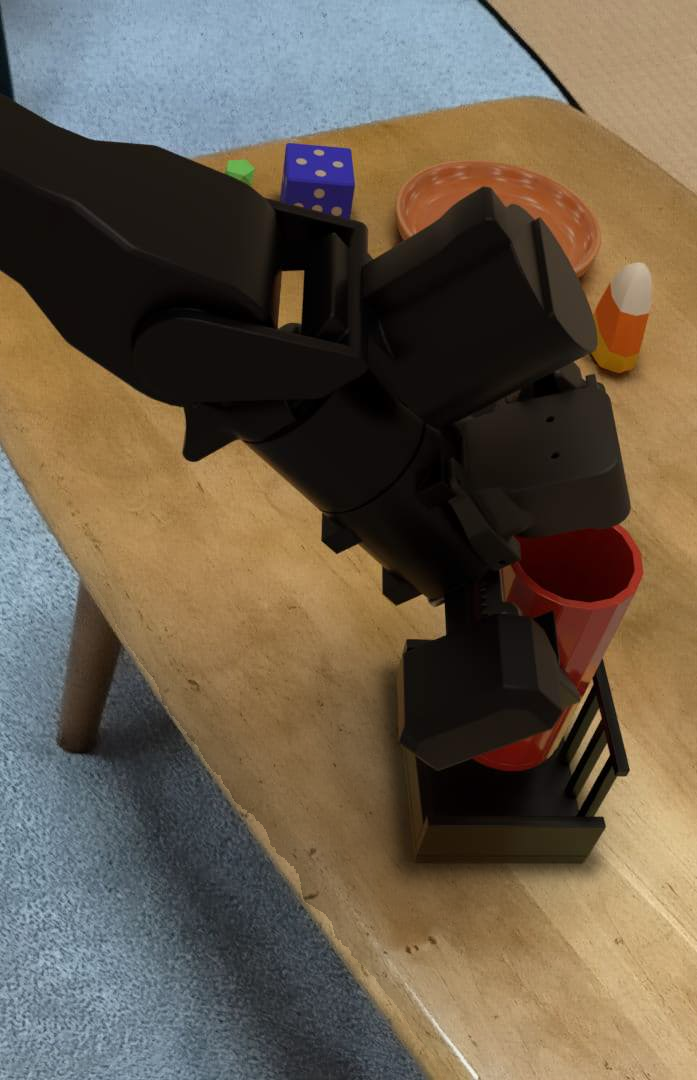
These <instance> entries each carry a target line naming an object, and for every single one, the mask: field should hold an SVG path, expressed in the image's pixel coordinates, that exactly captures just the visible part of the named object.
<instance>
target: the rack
mask: <svg viewBox="0 0 697 1080" xmlns="http://www.w3.org/2000/svg"><path fill="white" fill-rule="evenodd" d="M433 640H434V639H427V638H425V639H423V638H422V639H421V638H406V639H405V643H404V645H403V649H402V653H401V656H400V660H399V663H398V667H397V671H396V675H395V678H394V682H395V691H396V692H395V693H396V701H397V702H396V703H398V669H399V665H400V662H401V659H402V655H403V653H405V652H407V651H410V650H412V649H414V648H417V647H419V646H421V645H424V644H426V643H428V642H431V641H433ZM606 669H607V668H606V665H605V662H604V657H603V658H602V660H601V662H600V664H599V666H598V668H597V670H596V672H595V674H594V676H593V678H592V680H591V681H592V686H591V688H590V690H589V692H588V694H587V696H586V698H585V700H584V702H583V704H582V706H581V708H580V710H579V712H578V714H577V716H576V718H575V720H574V723H573V724H572V726H571V728H570V731H569V733H568V734H567V736H566V739H565V736H564V735H565V734H564V735H563V737H562V739H561V741H560V743H559V745H558V747H557V749H556V750H555V751H554V753H553V754H552V755H551V756H550V757H549V758H548V759H547V760H546V761H545V762H543V763H542V764H540V765H538V766H536V767H533V768H530V769H527V770H521V771H504V770H498V769H494V768H491V767H488V766H486V765H483V764H481V763H479V762H477V761H476V760H474V759H469V760H467V761H464V762H461V763H458V764H456V765H453V766H450V767H448V768H445V769H442V770H439V771H437V770H435V769H434V768H432V767H431V766H429V765H428V764H426V763H425V762H424V761H422V760H421V759H420V758H418V757H417V756H416V755H414V754H413V753H412V752H410V751H409V750H408V749H406V748H405V747H404V746H402V745H401V747H402V759H403V767H404V777H405V785H406V794H407V805H408V813H409V823H410V833H411V841H412V842H411V843H412V853H413V861H414V862H415V863H541V864H542V863H543V864H544V863H547V864H548V863H550V864H551V863H561V864H562V863H563V864H564V863H567V864H571V863H579V864H580V863H582V864H583V863H585V862H586V861H587V859H588V857H589V856H590V855H591V853H592V851H593V850H594V848H595V846H596V844H597V843H598V841H599V839H600V838H601V836H602V835H603V833H604V832H605V830H606V828H607V825H606V821H605V816H596V814H597V813H598V811H599V809H600V807H601V806H602V804H603V802H604V800H605V799H606V797H607V795H608V794H609V791H610V790H611V788H612V787H613V784H614V783H615V781H616V780H617V778H618V777H620V778H621V777H628V775H629V774H630V771H631V769H630V764H629V760H628V756H627V752H626V747H625V744H624V739H623V736H622V731H621V728H620V723H619V720H618V719H619V718H618V715H617V710H616V708H615V707H616V706H615V702H614V698H613V694H612V690H611V685H610V681H609V678H608V673H607V670H606ZM598 712H599V713H600V718H601V719H600V721H599V723H598V724H597V726H596V729H595V730H594V732H593V734H592V736H591V738H590V739H589V741H588V743H587V744H586V745H587V746H586V747H585V749H584V751H583V753H582V755H581V757H580V759H579V761H578V762H577V764H576V766H575V768H574V770H573V772H572V769H571V764H572V763H573V760H574V758H575V756H576V754H577V752H578V750H579V748H580V746H581V744H582V742H583V741H584V739H585V736H586V735H587V734H588V731H589V729H590V728H591V725H592V723H593V722H594V719H595V718H596V716H597V713H598ZM606 746H607V749H608V753H609V756H608V758H607V760H606V761H605V762H604V765H603V767H602V768H601V770H600V771H599V774H598V775H597V777H596V779H595V781H594V783H593V785H592V786H591V788H590V790H589V792H588V793H587V795H586V797H585V799H584V801H583V802H582V804H581V806H580V808H579V803H578V798H579V796H580V795H581V792H582V790H583V788H584V786H585V785H586V784H587V781H588V779H589V777H590V775H591V773H592V772H593V770H594V769H595V767H596V765H597V763H598V761H599V759H600V757H601V755H602V753H603V752H604V750H605V748H606Z"/></svg>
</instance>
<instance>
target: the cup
mask: <svg viewBox="0 0 697 1080" xmlns="http://www.w3.org/2000/svg"><path fill="white" fill-rule="evenodd" d="M514 537H515V538H516V539H517V540H518V541H519V542H520V550H521V560H520V561H517V562H515V563H513V564H511V565H508V566H506V567H504V568H503V575H504V586H505V596H506V602H512V603H514V604H516V605H517V606H518V607H519V608H520V609H521V611H522V614H523V616H530V617H531V618H532V619H533V618H536V617H538V616H540V615H543V614H545V613H548V612H550V611H554V617H555V625H556V633H557V641H558V649H559V657H560V662H559V664H560V665H561V666H562V668H563V669H564V670H565V672H566V673H567V674H568V676H569V677H570V678H571V680H572V682H573V683H574V685H575V686H576V688H577V690H578V691H579V693H580V698H581V701H580V702H579V703H576V704H574V705H571V706H568V707H566V708H563V713H562V714H561V716H560V717H559V719H558V720H557V722H556V723H555V725H554V726H553V728H552V729H551V730H549V731H546V732H543V733H540V734H538V735H535V736H532V737H530V738H527V739H524V740H521V741H519V742H516V743H513V744H510V745H508V746H505V747H502V748H499V749H497V750H494V751H491V752H489V753H486V754H483V755H480V756H478V757H475V758H472V759H474V760H476V761H477V762H479V763H481V764H483V765H486V766H488V767H491V768H494V769H498V770H504V771H521V770H527V769H530V768H533V767H536V766H538V765H540V764H542V763H543V762H545V761H546V760H547V759H548V758H549V757H550V756H551V755H552V754H553V753H554V751H555V750H556V749H557V747H558V745H559V743H560V741H561V739H562V737H563V735H565V733H566V732H567V729H568V728H569V726H570V724H571V722H572V720H573V718H574V716H575V714H576V712H577V709H578V707H579V706H580V704H581V702H582V700H583V698H584V695H585V694H586V692H587V689H588V688H589V686H590V683H591V682H592V681H593V680H592V678H593V676H594V674H595V672H596V670H597V668H598V666H599V664H600V662H601V660H602V658H603V659H604V656H605V654H606V652H607V650H608V648H609V646H610V644H611V642H612V640H613V638H614V636H615V634H616V632H617V630H618V628H619V627H620V624H621V622H622V621H623V619H624V617H625V614H626V612H627V610H628V608H629V606H630V605H631V603H632V600H633V599H634V597H635V595H636V592H637V591H638V588H639V586H640V583H641V581H642V579H643V576H644V565H643V557H642V556H643V555H642V551H641V549H640V548H639V547H638V545H637V543H636V541H635V539H634V538H633V536H632V535H631V533H630V532H629V531H628V530H627V529H625V527H623V525H621V523H620V524H618V525H616V526H614V527H610V528H606V529H600V530H598V529H595V528H587V529H582V530H576V531H571V532H565V533H560V534H555V535H549V536H544V537H539V538H532V539H526V538H521V537H518V536H516V535H514Z"/></svg>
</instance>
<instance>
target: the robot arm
mask: <svg viewBox="0 0 697 1080" xmlns="http://www.w3.org/2000/svg"><path fill="white" fill-rule="evenodd" d="M296 271H299V272H301V271H303V284H302V285H303V286H302V303H301V304H302V305H301V321H300V323H299V322H288V323H285V324H283V325H282V326H279V317H280V306H281V305H280V304H281V303H280V302H281V291H282V277H283V272H296ZM0 272H1V273H3V274H4V275H5V276H6V277H8V278H10V279H11V280H12V281H13V282H15V283H17V284H18V285H19V286H20V287H21V288H22V289H24V291H25V292H26V293H27V295H28V296H29V297H30V299H31V300H32V301H33V302H34V303H35V305H36V306H37V307H38V309H39V310H40V311H41V312H42V313H43V315H44V316H45V318H46V319H47V320H48V321H49V322H50V325H52V326H53V327H54V329H55V330H56V332H58V334H59V335H60V337H61V338H62V339H63V340H64V341H65V342H66V344H68V345H69V346H70V347H72V348H73V349H75V350H76V351H78V352H79V353H80V354H82V355H83V356H85V357H86V358H88V359H89V360H91V361H92V362H94V363H95V364H96V365H98V366H100V367H101V368H103V369H104V370H106V371H107V372H109V373H110V374H112V375H113V376H114V377H116V378H118V379H119V380H120V381H121V382H123V383H125V384H126V385H128V386H129V387H131V388H132V389H133V390H135V391H137V392H138V393H139V394H142V395H144V397H147V398H149V399H151V400H153V401H157V402H159V403H162V404H165V405H169V406H172V407H177V408H182V409H183V413H184V418H185V428H184V429H185V430H184V437H183V445H182V449H181V450H182V451H181V455H182V456H183V457H182V458H184V460H185V461H187V462H191V463H197V462H199V461H201V460H203V459H205V458H207V457H208V456H209V457H210V455H212V454H214V453H215V452H218V451H219V450H221V449H223V448H225V447H227V446H228V445H230V444H232V443H234V442H236V441H241V442H242V443H243V444H244V445H246V446H247V448H249V449H250V450H251V451H252V452H254V453H255V455H257V456H258V457H259V458H260V459H261V460H262V461H264V462H265V463H266V464H267V465H268V466H269V467H270V468H271V469H273V471H275V472H276V473H277V474H278V475H280V476H281V478H283V479H284V480H285V481H286V482H287V483H288V484H290V485H291V486H292V487H293V488H294V489H295V490H296V491H297V492H298V493H300V495H302V496H303V497H304V498H305V499H306V500H307V501H308V502H309V503H311V504H312V505H313V506H314V507H315V508H317V509H318V511H320V512H321V532H320V533H321V534H320V535H321V536H320V537H321V538H320V540H321V542H322V543H323V544H324V545H325V546H326V547H327V548H329V549H330V550H331V551H332V552H333V553H334V554H336V555H338V554H340V553H343V552H345V551H346V550H349V549H351V548H353V547H355V546H357V545H358V546H359V547H360V548H362V550H364V551H365V552H366V553H367V554H368V555H369V556H371V558H373V559H374V560H375V561H376V562H377V563H379V564H380V566H381V592H382V595H383V596H384V597H385V598H386V599H387V600H389V601H390V602H391V603H392V604H393V605H394V606H396V607H398V606H400V605H402V604H405V603H406V602H407V603H408V602H409V601H411V600H414V599H415V598H418V597H420V596H424V597H425V598H426V599H427V603H428V604H429V605H430V606H432V607H433V608H437V607H439V606H442V605H444V618H445V619H444V620H445V622H444V623H445V635H443V636H440V637H438V638H435V639H432V640H433V641H431V642H428V643H426V644H424V645H421V646H419V647H417V648H414V649H412V650H410V651H407V652H405V653H403V652H402V653H403V655H402V654H401V656H402V659H401V658H400V660H401V662H400V661H399V663H400V665H399V664H398V667H399V669H398V668H397V670H398V702H397V712H398V713H397V716H398V717H397V719H398V723H397V724H398V744H400V745H401V747H402V746H404V747H405V748H406V749H408V750H409V751H410V752H412V753H413V754H414V755H416V756H417V757H418V758H420V759H421V760H422V761H424V762H425V763H426V764H428V765H429V766H431V767H432V768H434V769H435V770H437V771H439V770H442V769H445V768H448V767H450V766H453V765H456V764H458V763H461V762H464V761H467V760H469V759H472V758H475V757H478V756H480V755H483V754H486V753H489V752H491V751H494V750H497V749H499V748H502V747H505V746H508V745H510V744H513V743H516V742H519V741H521V740H524V739H527V738H530V737H532V736H535V735H538V734H540V733H543V732H546V731H549V730H551V729H552V728H553V726H554V725H555V723H556V722H557V720H558V719H559V717H560V716H561V714H562V713H563V708H566V707H568V706H571V705H574V704H576V703H579V702H580V701H581V702H582V700H581V698H580V693H579V691H578V690H577V688H576V686H575V685H574V683H573V682H572V680H571V678H570V677H569V676H568V674H567V673H566V672H565V670H564V669H563V668H562V666H561V665H560V664H559V662H560V657H559V649H558V641H557V633H556V625H555V617H554V611H550V612H548V613H545V614H543V615H540V616H538V617H536V618H533V619H532V618H531V617H530V616H523V614H522V611H521V609H520V608H519V607H518V606H517V605H516V604H514V603H512V602H506V596H505V586H504V575H503V568H504V567H506V566H508V565H511V564H513V563H515V562H517V561H520V560H521V550H520V542H519V541H518V540H517V539H516V538H515V537H514V535H516V536H518V537H521V538H526V539H532V538H539V537H544V536H549V535H555V534H560V533H565V532H571V531H576V530H582V529H587V528H595V529H598V530H600V529H606V528H610V527H614V526H616V525H618V524H620V525H621V523H623V522H624V521H625V520H626V519H627V518H628V517H629V515H630V513H631V509H632V505H631V503H632V502H631V498H630V492H629V489H628V488H629V487H628V483H627V478H626V473H625V467H624V462H623V457H622V451H621V447H620V446H621V445H620V442H619V441H620V440H619V435H618V430H617V425H616V421H615V415H614V409H613V404H612V399H611V397H610V396H609V394H608V393H607V390H606V386H605V385H604V384H603V383H602V382H598V380H597V376H596V373H591V374H587V375H584V378H583V376H582V371H581V368H580V367H579V366H578V364H577V363H576V362H577V361H578V360H580V359H582V358H583V357H586V356H587V355H589V354H591V353H592V352H593V351H595V350H596V348H597V345H598V336H597V329H596V324H595V321H594V318H593V314H594V313H593V311H592V308H591V305H590V303H589V301H588V298H587V295H586V292H585V290H584V288H583V286H582V283H581V281H580V280H579V279H580V278H578V277H577V275H576V273H575V271H574V269H573V267H572V265H571V263H570V261H569V259H568V258H567V256H566V254H565V252H564V251H563V249H562V247H561V246H560V244H559V242H558V241H557V239H556V238H555V236H554V235H553V233H552V232H551V231H550V229H549V228H548V226H547V225H546V224H545V222H544V221H543V220H542V219H541V218H540V217H538V218H537V219H534V218H533V217H532V216H531V215H530V214H529V213H528V212H527V211H526V210H525V209H523V208H522V207H520V206H519V205H517V204H510V205H508V206H507V207H505V205H504V204H503V203H502V201H501V200H500V199H499V197H498V196H497V195H496V193H495V192H494V191H493V189H492V188H490V187H481V188H479V189H478V190H476V191H474V192H473V193H471V194H470V195H468V196H466V197H465V198H463V199H461V200H460V201H458V202H457V203H456V204H454V205H453V206H452V207H451V208H450V209H449V210H448V211H447V212H446V213H445V214H444V215H442V216H441V217H440V218H439V219H438V220H437V221H435V222H434V223H432V224H431V225H429V226H427V227H426V228H424V229H422V230H421V231H419V232H418V233H416V234H414V235H413V236H411V237H409V238H408V239H406V240H404V239H403V241H400V242H399V243H398V244H396V245H394V246H393V247H391V248H390V249H388V250H386V251H385V252H383V253H382V254H379V255H378V256H376V257H375V258H373V256H372V255H371V254H370V253H369V229H368V226H367V224H365V223H364V222H362V221H359V220H355V219H351V218H350V219H347V218H343V217H339V216H335V215H331V214H327V213H324V212H320V211H316V210H312V209H308V208H304V207H300V206H296V205H292V204H288V203H284V202H280V200H277V199H276V200H275V199H272V198H268V197H264V196H263V195H262V194H261V193H260V192H258V191H257V190H256V189H255V188H254V187H253V186H252V185H248V184H246V183H244V182H242V181H240V180H238V179H236V178H234V177H232V176H229V175H227V174H225V172H222V171H220V170H217V169H214V168H213V167H210V166H207V165H205V164H202V163H200V162H197V161H195V160H193V159H190V158H188V157H185V156H183V155H180V154H178V153H175V152H173V151H170V150H168V149H167V148H164V147H161V146H158V145H155V144H148V143H147V144H146V143H136V142H122V141H109V140H101V139H100V140H98V139H93V138H89V137H86V136H84V135H81V134H78V133H77V132H74V131H71V130H69V129H66V128H64V127H61V126H59V125H57V124H55V123H53V122H51V121H49V120H48V119H46V118H44V117H43V116H40V115H39V114H37V113H36V112H34V111H32V110H30V109H28V108H27V107H25V106H24V105H22V104H20V103H18V102H16V101H15V100H13V99H12V98H9V97H8V96H6V95H4V94H3V93H1V92H0ZM581 702H580V703H581Z"/></svg>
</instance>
